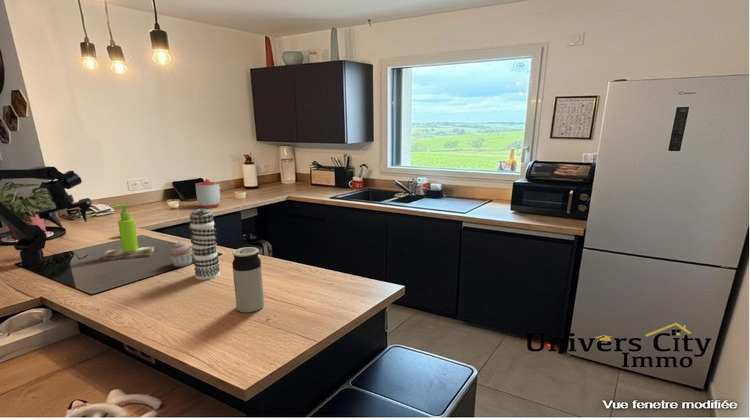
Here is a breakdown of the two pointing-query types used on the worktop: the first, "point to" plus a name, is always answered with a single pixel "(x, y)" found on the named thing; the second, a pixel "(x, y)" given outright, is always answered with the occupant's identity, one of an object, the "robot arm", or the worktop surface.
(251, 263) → the travel mug
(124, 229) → the soap dispenser
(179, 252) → the cupcake
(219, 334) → the worktop surface
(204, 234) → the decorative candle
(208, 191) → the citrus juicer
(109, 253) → the bar
